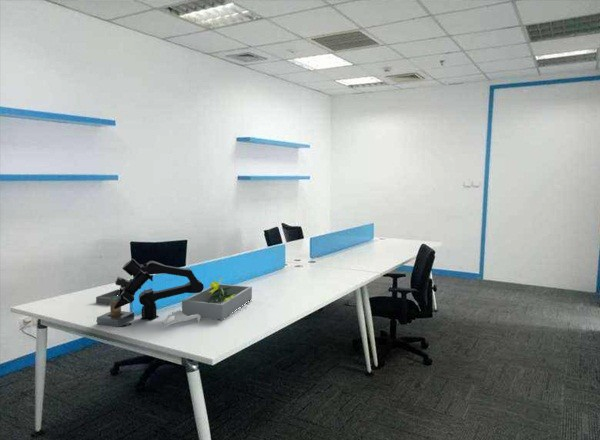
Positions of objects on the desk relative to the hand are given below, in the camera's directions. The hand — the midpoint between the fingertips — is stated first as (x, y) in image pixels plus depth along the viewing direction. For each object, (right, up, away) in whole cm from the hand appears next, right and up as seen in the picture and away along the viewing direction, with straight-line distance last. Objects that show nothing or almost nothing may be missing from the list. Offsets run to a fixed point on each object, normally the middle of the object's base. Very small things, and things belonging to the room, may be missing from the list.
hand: (114, 305), depth 209 cm
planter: (+46, -6, +27) cm, 54 cm away
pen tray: (-16, -4, +39) cm, 42 cm away
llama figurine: (+33, -9, -1) cm, 34 cm away
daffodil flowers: (+45, -5, +28) cm, 53 cm away
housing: (0, -8, +1) cm, 8 cm away
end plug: (0, -8, +1) cm, 8 cm away
